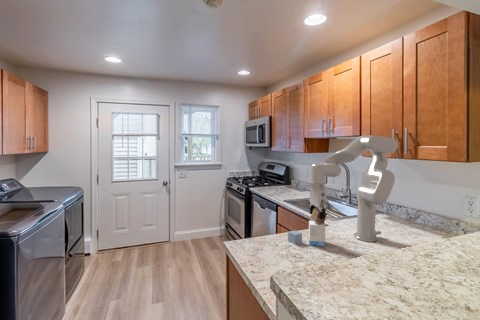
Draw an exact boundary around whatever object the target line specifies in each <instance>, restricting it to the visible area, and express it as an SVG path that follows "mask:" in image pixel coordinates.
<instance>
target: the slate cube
mask: <svg viewBox="0 0 480 320" xmlns="http://www.w3.org/2000/svg"><path fill="white" fill-rule="evenodd" d="M287 242H289V243H291V244H292V243H293V244H292V245H294V244H295V245H298V244H297V243H299V244H301V242H302V243H303V233H302V232H300V231H297V230H295V229H294V230H291V231H288V232H287Z"/></svg>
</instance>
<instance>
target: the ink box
mask: <svg viewBox="0 0 480 320" xmlns="http://www.w3.org/2000/svg"><path fill="white" fill-rule="evenodd" d="M308 244H309V246H311V245H316V246H317V247H326V224H325V222H324V223H320V222H316V221H314V220H308ZM316 246H315V247H316Z"/></svg>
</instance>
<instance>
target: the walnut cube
mask: <svg viewBox="0 0 480 320" xmlns="http://www.w3.org/2000/svg"><path fill="white" fill-rule="evenodd" d="M319 213H320V209H317V208H315V209H313V212H312V214H310V218H311V219H312V221H316V222H320V223H325V221H326V219H327V217H328V213H326V212H325V219H319Z"/></svg>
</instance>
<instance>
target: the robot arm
mask: <svg viewBox="0 0 480 320" xmlns="http://www.w3.org/2000/svg"><path fill="white" fill-rule="evenodd" d="M398 147H399V143H398V141H397V140H396V139H395V138H393V137H386V136H379V135H374V134H371V135H370V134H369V135H360V136H358V137H357V138H356V139H354V140H353V141H352V142H351V143H349V144H348V145H346V146H345V147H344V148H343V149H341V150H339V151H336V152H335V153H333V154H331V155H329V156H327V157H326V158H324V160H322V162H320V163H313V164H312V165H311V168H310V169H311V170H310V171H311V173H310V176H311V177H310V191H309V192H310V193H309V194H310V195H309V197H308V203H309V206H308V207H309V214H310V215H312V212H313V209H316V208H319V209H318V210H320V213H319V219H325V213H326V212H327V210H328V206H329V205H328V204H327V202H328V201H327V200H328V199H327V191H326V177H328V178H337V177H339V176H340V174H341V173H342V167H341V166H340V165H343V164H347V163H351V162H355V160H357V159H358V158H359V157H360V156H361V155H362V154H364V153H365V152H366V151H369V152H370V154H371V157H372V158H371V159H372V160H371V162H370V165H369V168H368V170H367V172H366V175H365V180H366V182H367V183H368V184H362V185H360V186H358V188H357V189H356V199H357V219H356V232H355V233H354V234H353V237H354V238H355V239H357V240H360V241H363V242H373V243H374V242H377V241H378V239H379V238H378V236H377V235H382V231H381V230H376V213H377V210H376V209H377V207H376V205H377V206H382V205H384V204H385V203H386V202H387V201H388V199H389V196H390V194H391V192H392V189H393V187H394V185H395V181H396V180H395V179H396V178H395V177H396V176H395V174H394V173H393V171H392V170H388V169H387V168H388V164H389V158H388V156H387V154H392V153H395V152H396V151H397V150H398ZM369 184H371V185H369ZM374 185H375V186H374ZM325 220H326V219H325Z"/></svg>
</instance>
